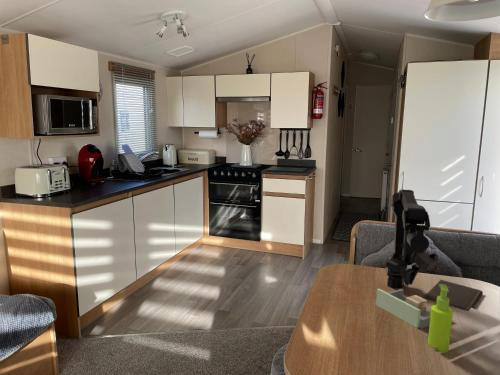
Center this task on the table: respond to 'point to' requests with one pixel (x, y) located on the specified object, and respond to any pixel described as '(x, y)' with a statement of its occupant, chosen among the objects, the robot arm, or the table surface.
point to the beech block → (417, 302)
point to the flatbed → (424, 315)
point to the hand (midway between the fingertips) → (408, 284)
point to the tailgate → (398, 308)
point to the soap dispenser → (440, 322)
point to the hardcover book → (456, 295)
